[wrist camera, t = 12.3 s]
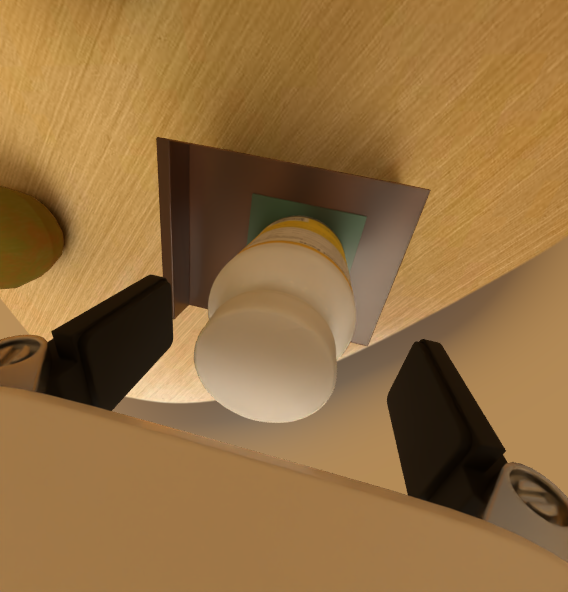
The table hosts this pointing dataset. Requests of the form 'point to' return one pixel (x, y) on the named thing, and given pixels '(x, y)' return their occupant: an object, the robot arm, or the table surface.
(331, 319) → the pill bottle
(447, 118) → the table surface
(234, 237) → the shelf
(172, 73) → the table surface
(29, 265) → the apple
